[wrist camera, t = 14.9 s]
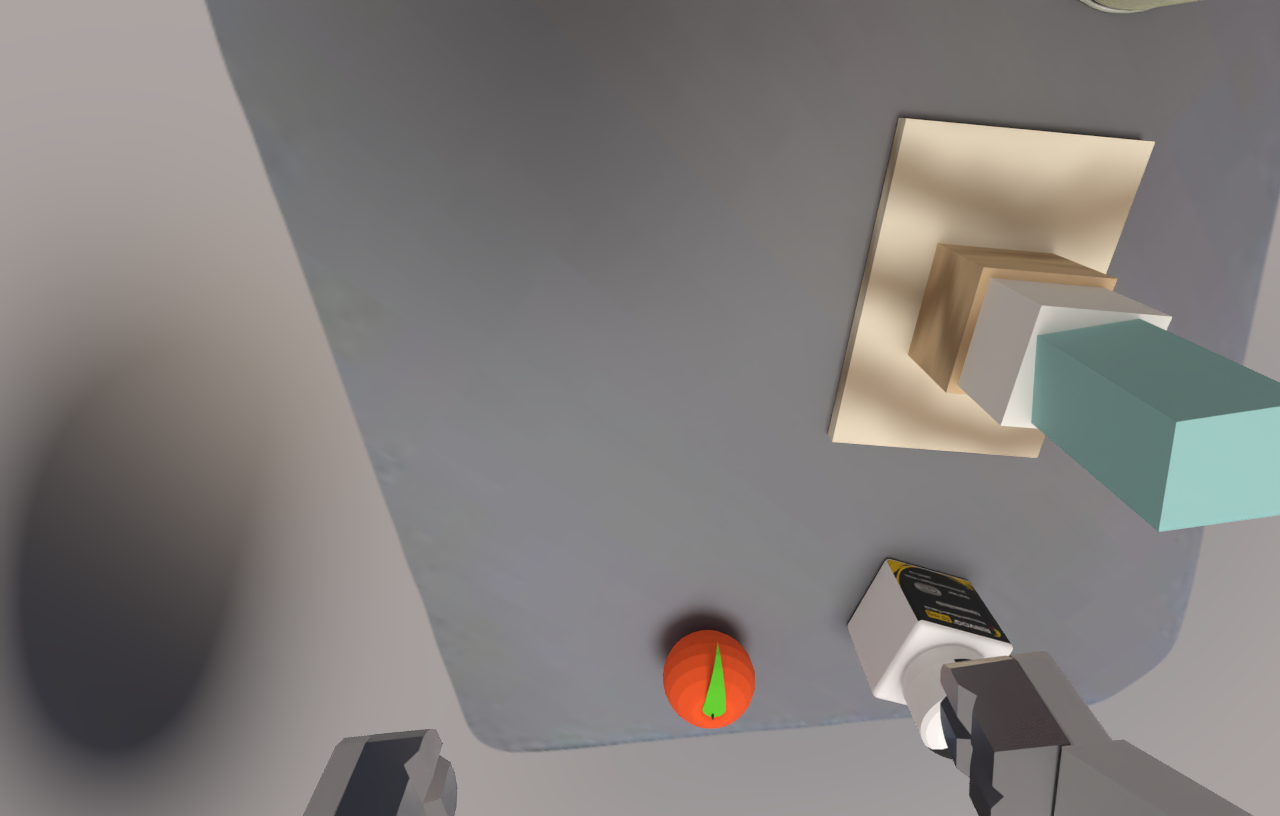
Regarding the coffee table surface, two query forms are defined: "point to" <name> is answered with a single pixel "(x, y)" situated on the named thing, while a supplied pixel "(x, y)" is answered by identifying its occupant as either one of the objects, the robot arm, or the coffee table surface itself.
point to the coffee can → (1130, 5)
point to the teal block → (1161, 422)
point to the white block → (1032, 338)
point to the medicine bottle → (921, 639)
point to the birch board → (980, 217)
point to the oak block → (977, 300)
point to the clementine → (709, 679)
